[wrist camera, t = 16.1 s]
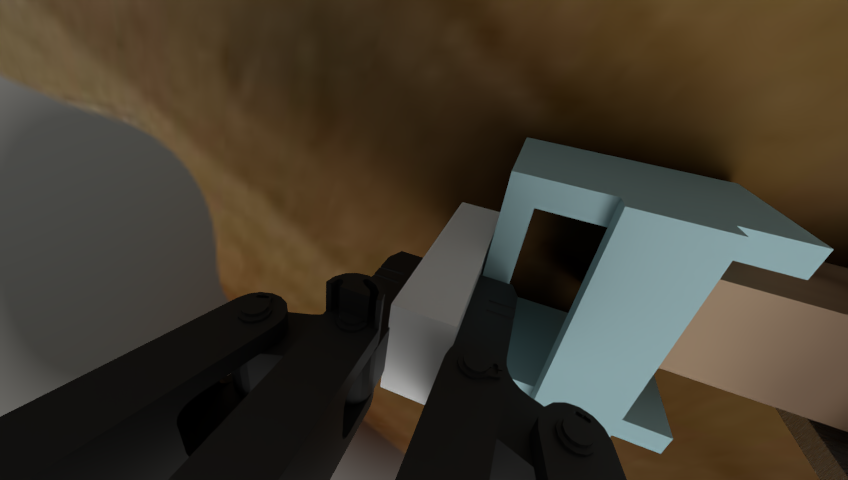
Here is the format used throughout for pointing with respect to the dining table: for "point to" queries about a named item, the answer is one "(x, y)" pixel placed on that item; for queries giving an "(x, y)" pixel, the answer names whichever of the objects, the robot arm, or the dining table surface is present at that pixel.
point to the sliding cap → (630, 276)
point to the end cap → (820, 445)
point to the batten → (773, 341)
